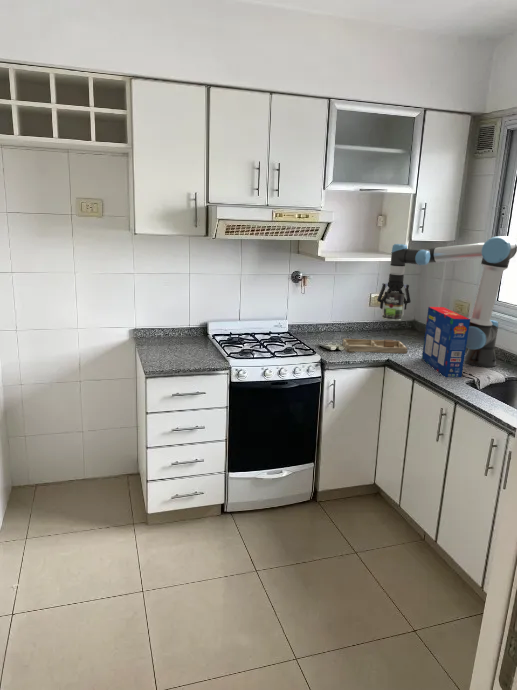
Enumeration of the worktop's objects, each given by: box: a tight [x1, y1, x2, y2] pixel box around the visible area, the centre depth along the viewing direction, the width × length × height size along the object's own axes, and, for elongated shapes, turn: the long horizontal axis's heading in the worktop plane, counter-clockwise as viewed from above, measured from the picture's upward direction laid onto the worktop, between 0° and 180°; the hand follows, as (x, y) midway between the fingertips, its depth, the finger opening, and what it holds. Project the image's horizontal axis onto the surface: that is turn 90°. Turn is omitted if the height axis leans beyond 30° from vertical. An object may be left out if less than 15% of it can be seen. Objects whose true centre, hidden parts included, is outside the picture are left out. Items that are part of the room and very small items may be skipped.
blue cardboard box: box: [421, 306, 470, 378], centre depth 252 cm, size 28×8×28 cm, turn 5°
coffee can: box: [381, 291, 406, 322], centre depth 278 cm, size 10×10×14 cm
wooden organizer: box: [342, 338, 409, 354], centre depth 284 cm, size 16×32×4 cm, turn 90°
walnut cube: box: [383, 339, 395, 347], centre depth 283 cm, size 4×4×4 cm
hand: (392, 315), depth 279 cm, fingers closed on coffee can, 10 cm apart
